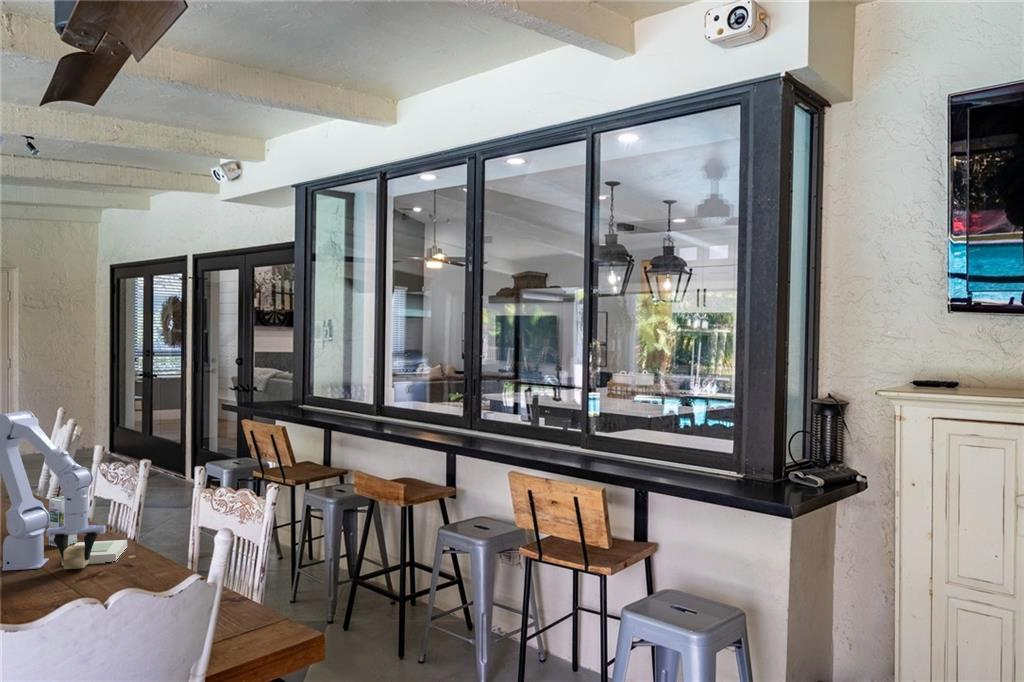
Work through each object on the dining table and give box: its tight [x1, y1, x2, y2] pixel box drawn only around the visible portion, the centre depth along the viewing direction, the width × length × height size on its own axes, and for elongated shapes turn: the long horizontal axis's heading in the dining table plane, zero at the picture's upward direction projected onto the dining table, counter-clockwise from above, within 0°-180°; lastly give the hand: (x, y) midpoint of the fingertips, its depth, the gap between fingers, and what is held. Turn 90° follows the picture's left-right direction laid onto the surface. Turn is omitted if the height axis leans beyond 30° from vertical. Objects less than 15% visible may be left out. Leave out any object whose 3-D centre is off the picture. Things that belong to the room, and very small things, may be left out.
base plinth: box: [61, 539, 128, 567], centre depth 225 cm, size 14×14×3 cm
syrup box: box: [48, 495, 78, 547], centre depth 236 cm, size 6×6×14 cm
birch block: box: [63, 545, 89, 570], centre depth 213 cm, size 5×5×5 cm
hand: (76, 559), depth 213 cm, fingers closed on birch block, 5 cm apart
